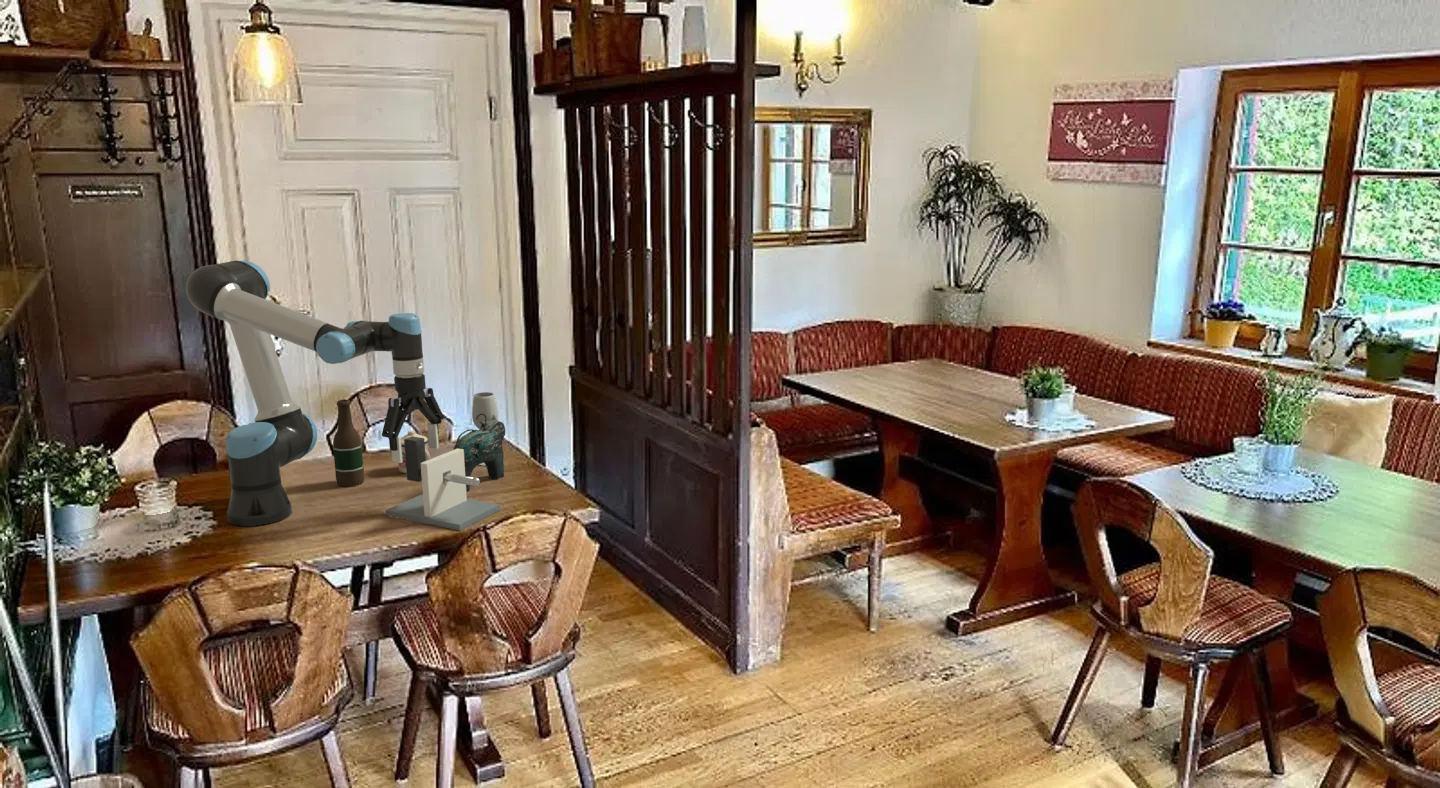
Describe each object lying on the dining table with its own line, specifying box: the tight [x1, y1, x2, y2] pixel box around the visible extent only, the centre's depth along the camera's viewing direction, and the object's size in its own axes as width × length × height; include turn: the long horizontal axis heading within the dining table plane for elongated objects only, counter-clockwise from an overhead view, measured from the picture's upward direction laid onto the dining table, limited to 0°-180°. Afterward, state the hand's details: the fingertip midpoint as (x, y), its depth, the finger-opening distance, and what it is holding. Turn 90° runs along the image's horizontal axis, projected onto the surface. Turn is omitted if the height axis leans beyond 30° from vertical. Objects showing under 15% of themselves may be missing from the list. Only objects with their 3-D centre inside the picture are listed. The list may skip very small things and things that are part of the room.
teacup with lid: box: [397, 430, 431, 474], centre depth 295 cm, size 12×9×12 cm
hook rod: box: [404, 436, 481, 488], centre depth 258 cm, size 3×22×11 cm, turn 65°
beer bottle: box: [332, 399, 365, 488], centre depth 283 cm, size 8×8×24 cm
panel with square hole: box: [385, 448, 501, 531], centre depth 260 cm, size 16×24×16 cm, turn 65°
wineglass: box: [471, 391, 499, 467], centre depth 301 cm, size 8×8×21 cm
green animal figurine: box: [453, 413, 506, 493], centre depth 282 cm, size 20×6×20 cm, turn 152°
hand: (416, 454), depth 261 cm, fingers open, 13 cm apart
